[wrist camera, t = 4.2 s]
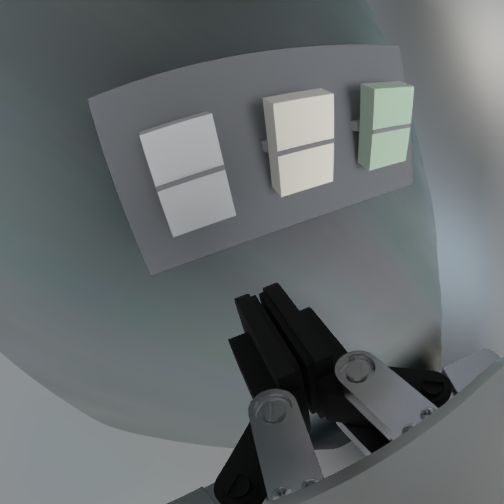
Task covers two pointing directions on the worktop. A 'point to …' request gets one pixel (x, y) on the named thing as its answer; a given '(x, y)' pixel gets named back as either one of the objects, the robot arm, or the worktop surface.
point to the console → (243, 141)
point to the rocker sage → (384, 123)
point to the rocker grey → (188, 172)
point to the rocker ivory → (300, 139)
